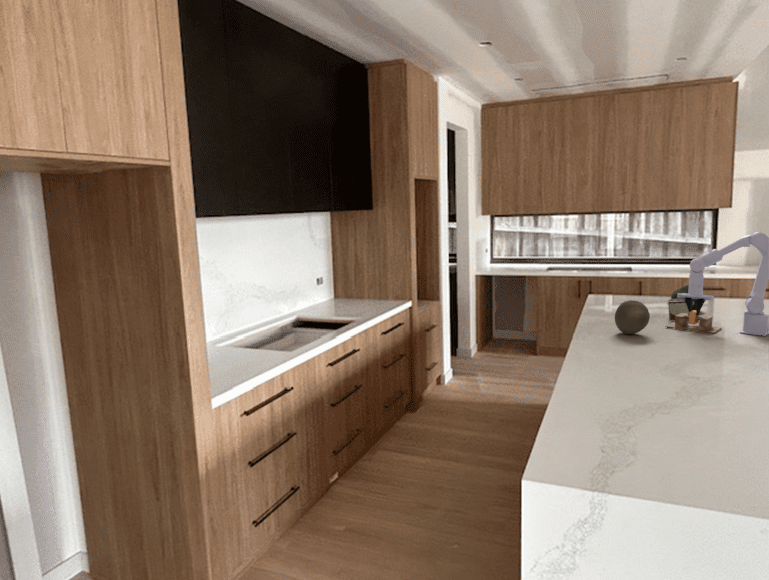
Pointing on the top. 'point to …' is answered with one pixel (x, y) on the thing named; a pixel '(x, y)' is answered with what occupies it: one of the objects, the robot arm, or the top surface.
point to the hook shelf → (703, 326)
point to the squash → (684, 290)
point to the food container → (677, 307)
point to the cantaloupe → (631, 317)
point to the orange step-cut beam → (693, 317)
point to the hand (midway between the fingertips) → (694, 314)
